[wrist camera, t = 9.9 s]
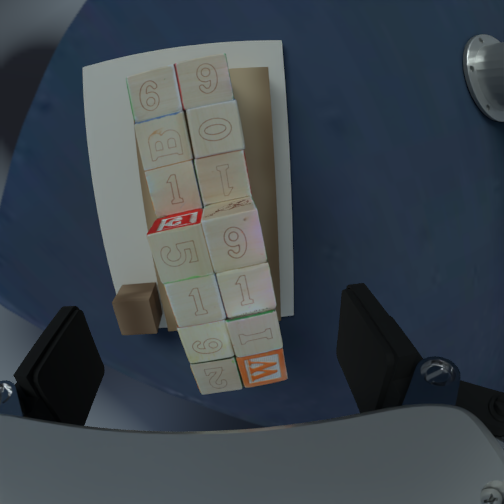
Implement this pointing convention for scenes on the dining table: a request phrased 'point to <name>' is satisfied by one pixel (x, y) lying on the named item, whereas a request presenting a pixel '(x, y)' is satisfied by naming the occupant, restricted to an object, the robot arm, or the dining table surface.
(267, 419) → the dining table surface
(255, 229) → the stack of blocks
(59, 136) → the dining table surface
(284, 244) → the cream tile
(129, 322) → the walnut cube
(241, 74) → the oak plinth
